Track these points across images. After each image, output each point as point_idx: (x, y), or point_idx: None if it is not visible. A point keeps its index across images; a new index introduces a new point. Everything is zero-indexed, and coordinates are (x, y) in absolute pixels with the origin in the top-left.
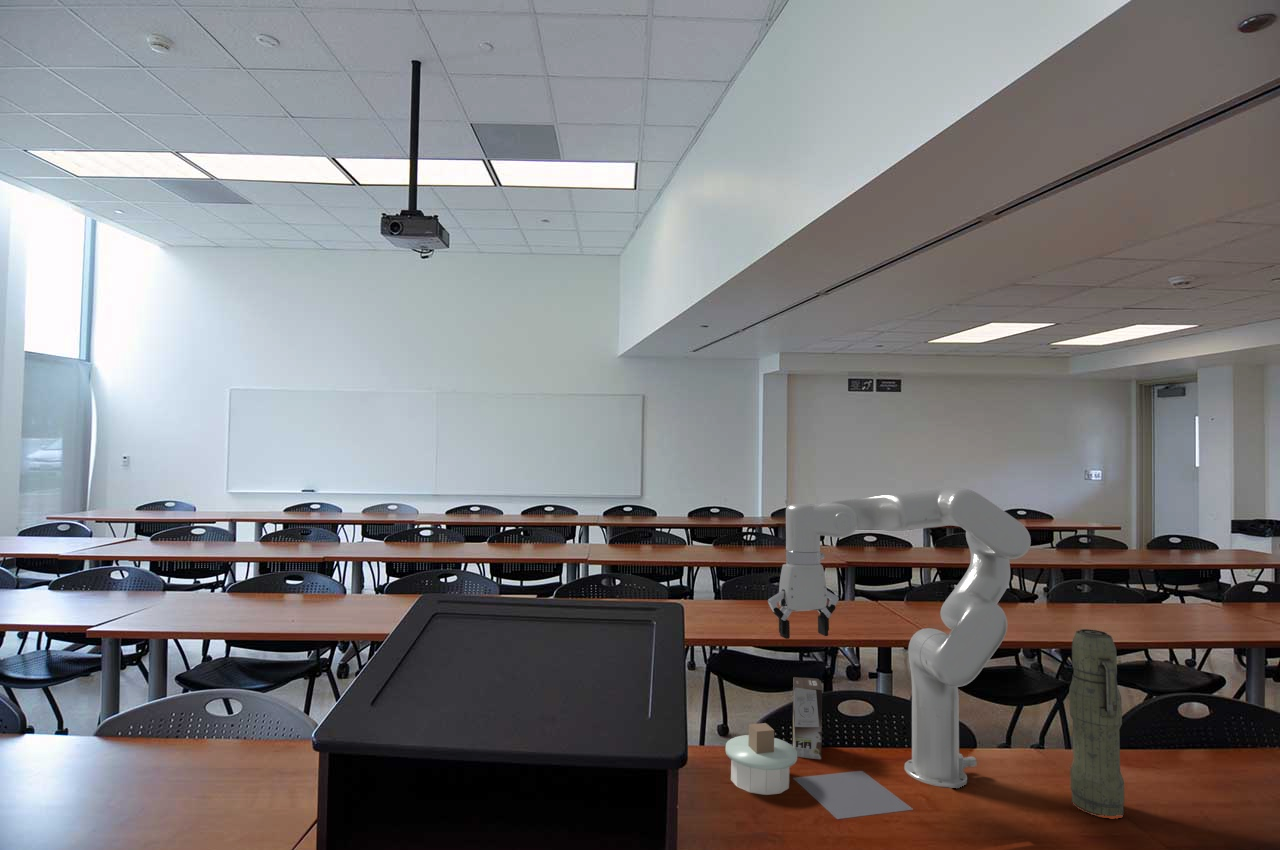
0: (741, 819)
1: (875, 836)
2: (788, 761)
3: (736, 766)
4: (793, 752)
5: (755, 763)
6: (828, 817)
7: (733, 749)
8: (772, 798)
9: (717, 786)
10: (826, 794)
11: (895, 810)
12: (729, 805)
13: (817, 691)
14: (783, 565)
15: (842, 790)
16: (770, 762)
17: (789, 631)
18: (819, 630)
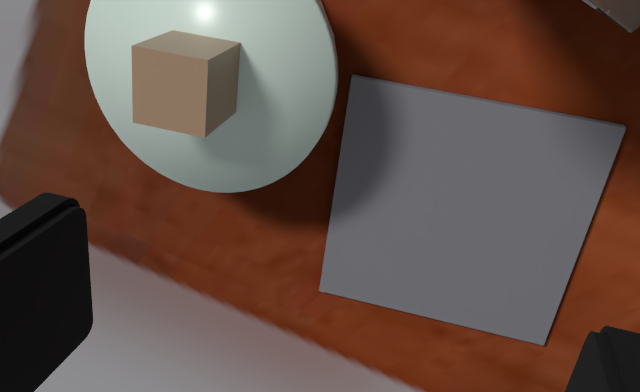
0: (114, 184)
1: (362, 356)
2: (244, 187)
3: None
4: (301, 141)
5: (137, 156)
6: (316, 263)
7: (108, 37)
8: None
9: None
10: (378, 197)
11: (491, 328)
12: None
13: (602, 14)
14: None
15: (441, 199)
16: (185, 169)
17: (43, 380)
18: (586, 380)
